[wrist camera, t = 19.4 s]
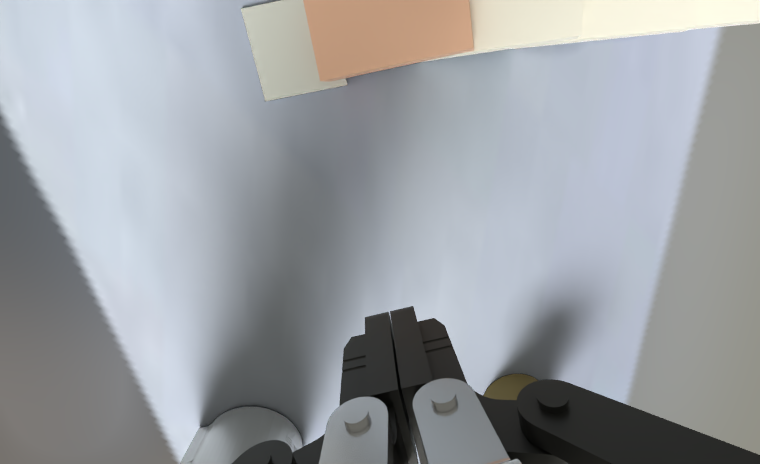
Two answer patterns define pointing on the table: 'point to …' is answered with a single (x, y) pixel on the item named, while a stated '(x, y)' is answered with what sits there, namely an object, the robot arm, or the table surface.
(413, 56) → the domino
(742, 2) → the domino
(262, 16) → the block
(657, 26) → the domino
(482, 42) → the domino
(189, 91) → the table surface
